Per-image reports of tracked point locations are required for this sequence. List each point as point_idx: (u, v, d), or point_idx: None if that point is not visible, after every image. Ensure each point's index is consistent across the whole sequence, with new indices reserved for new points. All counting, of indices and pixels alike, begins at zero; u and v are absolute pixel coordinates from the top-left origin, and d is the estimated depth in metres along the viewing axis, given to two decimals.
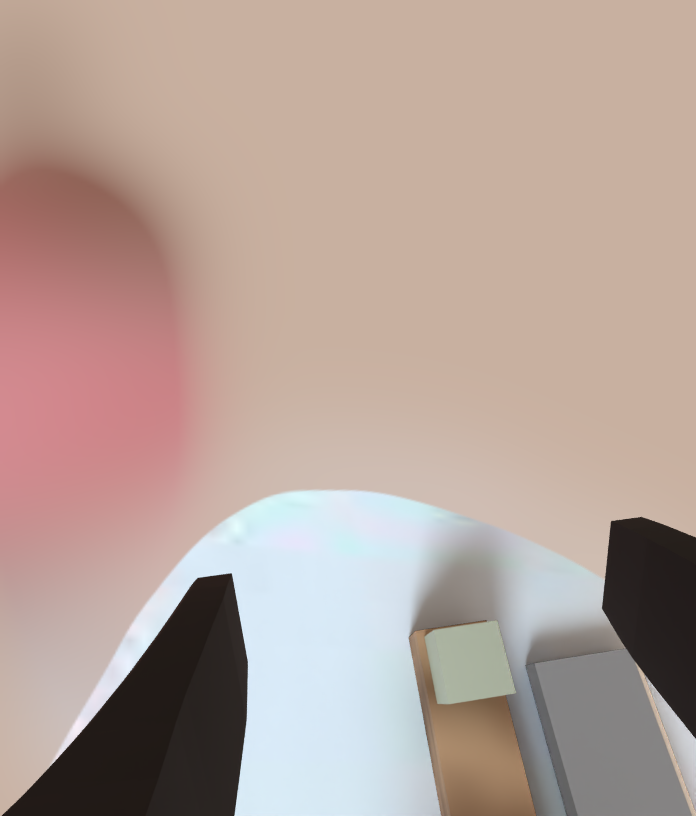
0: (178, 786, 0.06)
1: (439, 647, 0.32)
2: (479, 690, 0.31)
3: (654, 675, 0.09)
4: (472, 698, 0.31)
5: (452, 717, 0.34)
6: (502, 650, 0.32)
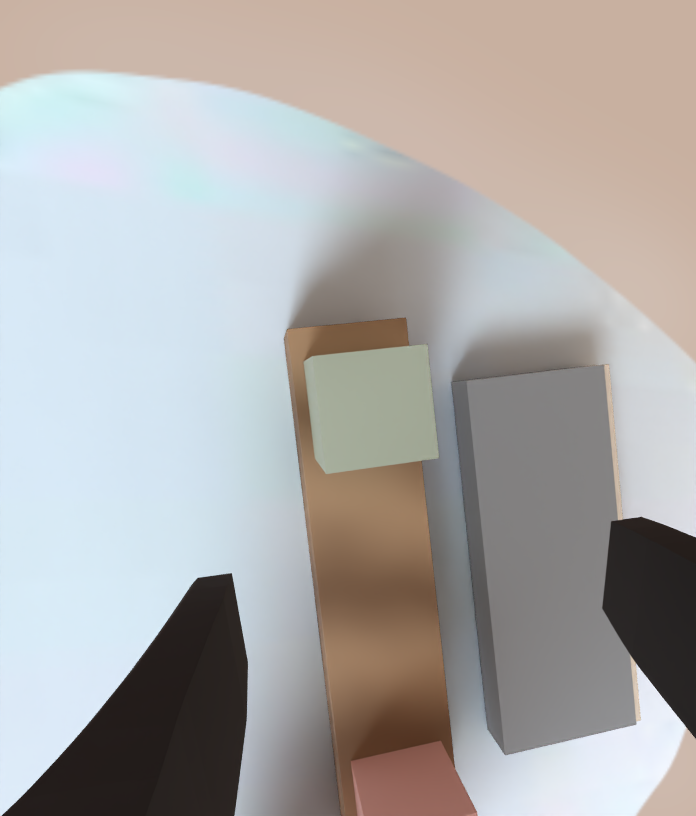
0: (178, 786, 0.06)
1: (320, 385, 0.18)
2: (380, 454, 0.18)
3: (654, 675, 0.09)
4: (366, 465, 0.18)
5: None
6: (428, 393, 0.18)
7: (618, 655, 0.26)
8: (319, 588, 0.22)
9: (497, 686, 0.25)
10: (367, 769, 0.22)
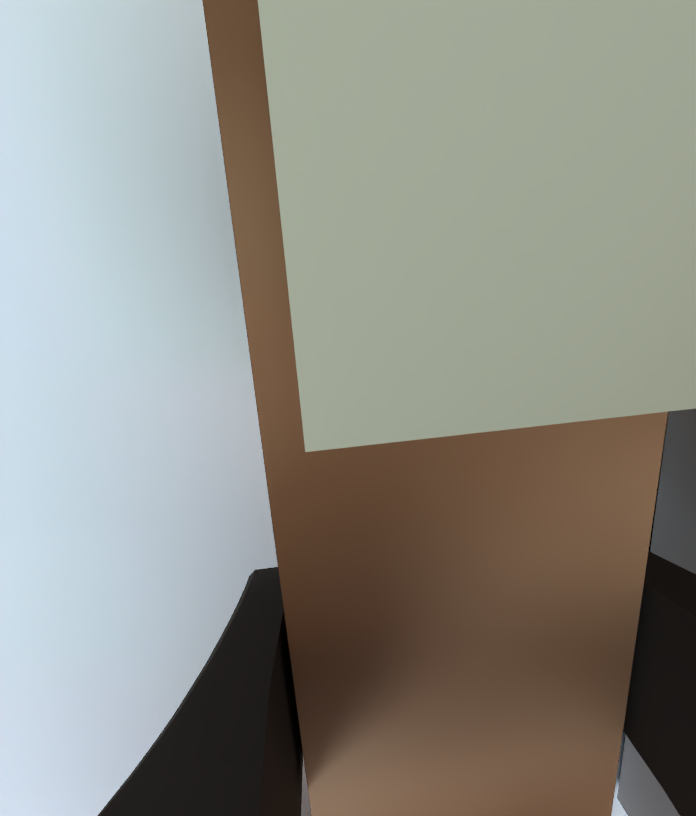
0: (272, 770, 0.06)
1: None
2: None
3: None
4: (688, 384, 0.02)
5: None
6: None
7: None
8: (293, 655, 0.07)
9: None
10: None
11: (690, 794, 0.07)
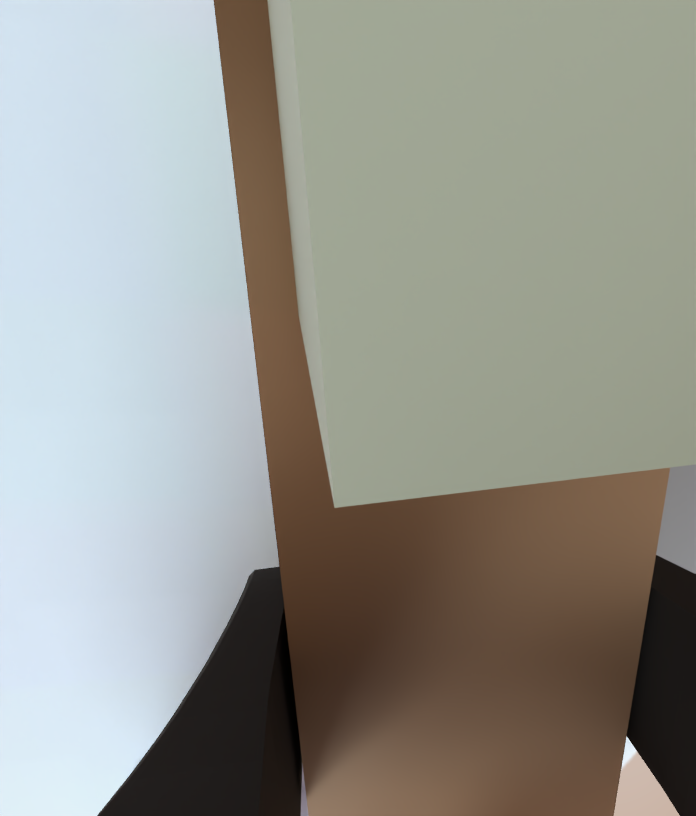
0: (272, 770, 0.06)
1: None
2: None
3: None
4: None
5: None
6: None
7: None
8: (294, 659, 0.07)
9: None
10: None
11: (690, 794, 0.07)
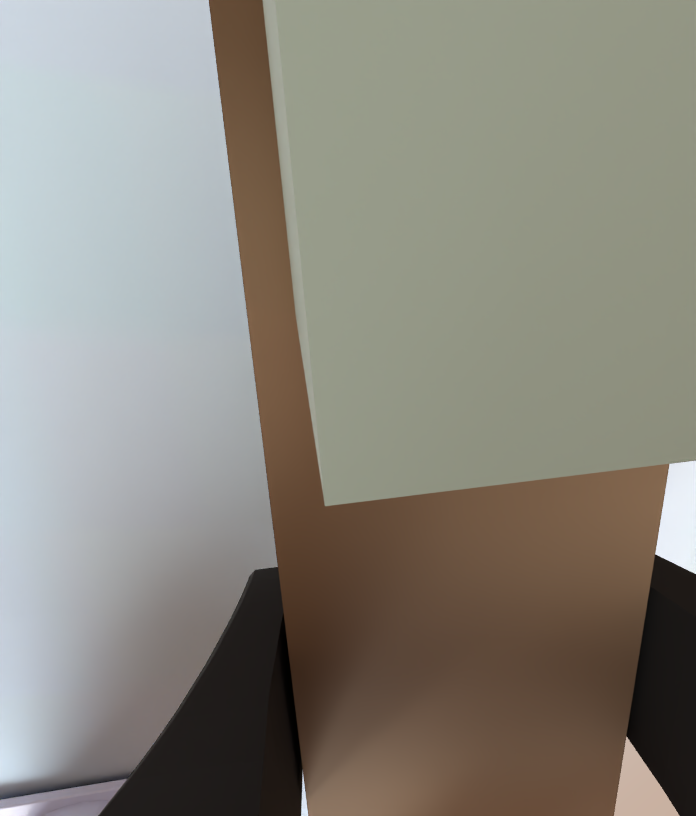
0: (272, 770, 0.06)
1: None
2: None
3: None
4: None
5: None
6: None
7: None
8: (293, 659, 0.07)
9: None
10: None
11: (690, 794, 0.07)
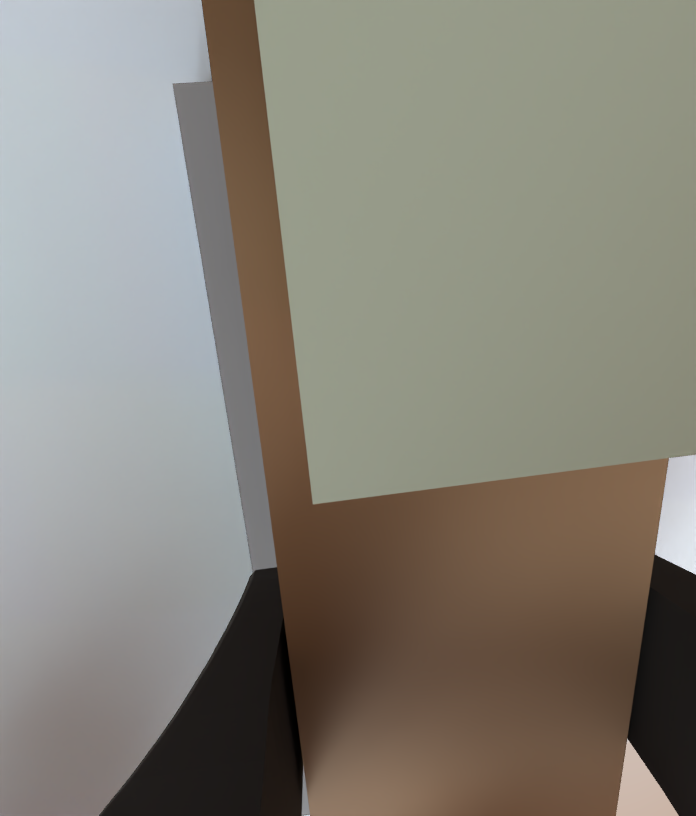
0: (273, 770, 0.06)
1: None
2: None
3: None
4: None
5: None
6: None
7: None
8: (292, 658, 0.07)
9: None
10: None
11: (689, 794, 0.07)
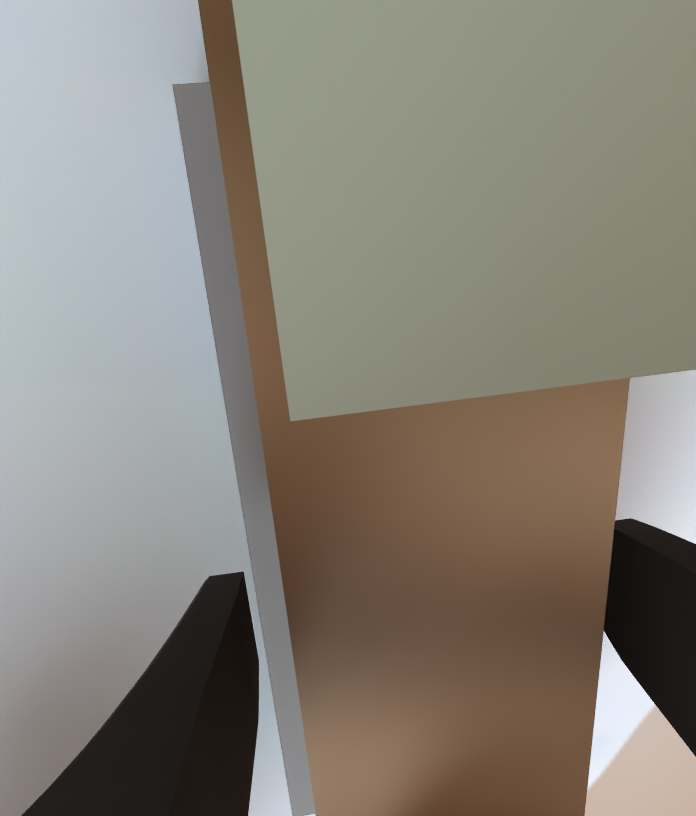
0: (197, 783, 0.06)
1: None
2: (677, 290, 0.03)
3: (643, 677, 0.09)
4: (570, 366, 0.03)
5: None
6: None
7: None
8: (290, 615, 0.08)
9: (278, 725, 0.14)
10: None
11: None
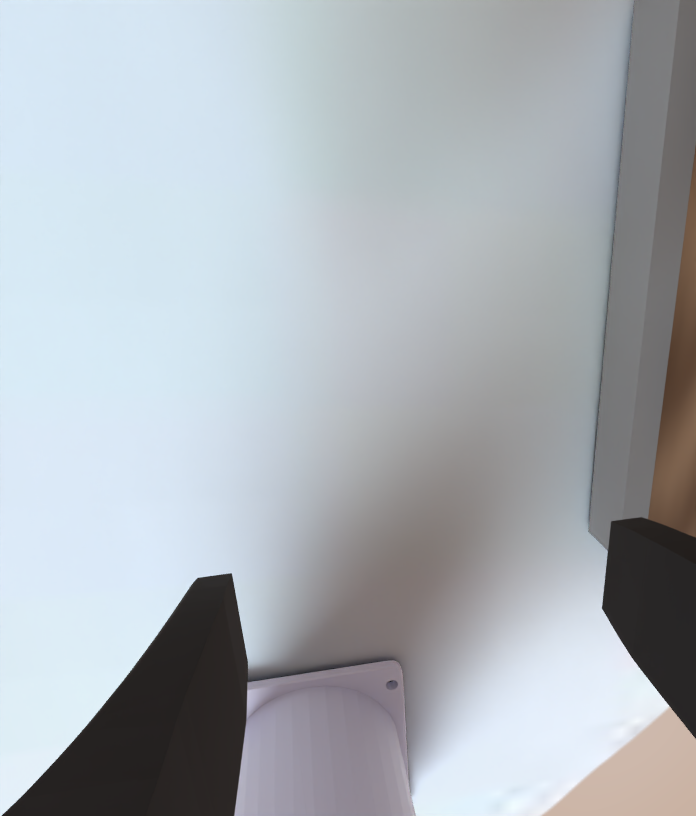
0: (178, 786, 0.06)
1: None
2: None
3: (654, 675, 0.09)
4: None
5: None
6: None
7: None
8: None
9: (624, 477, 0.19)
10: None
11: None
